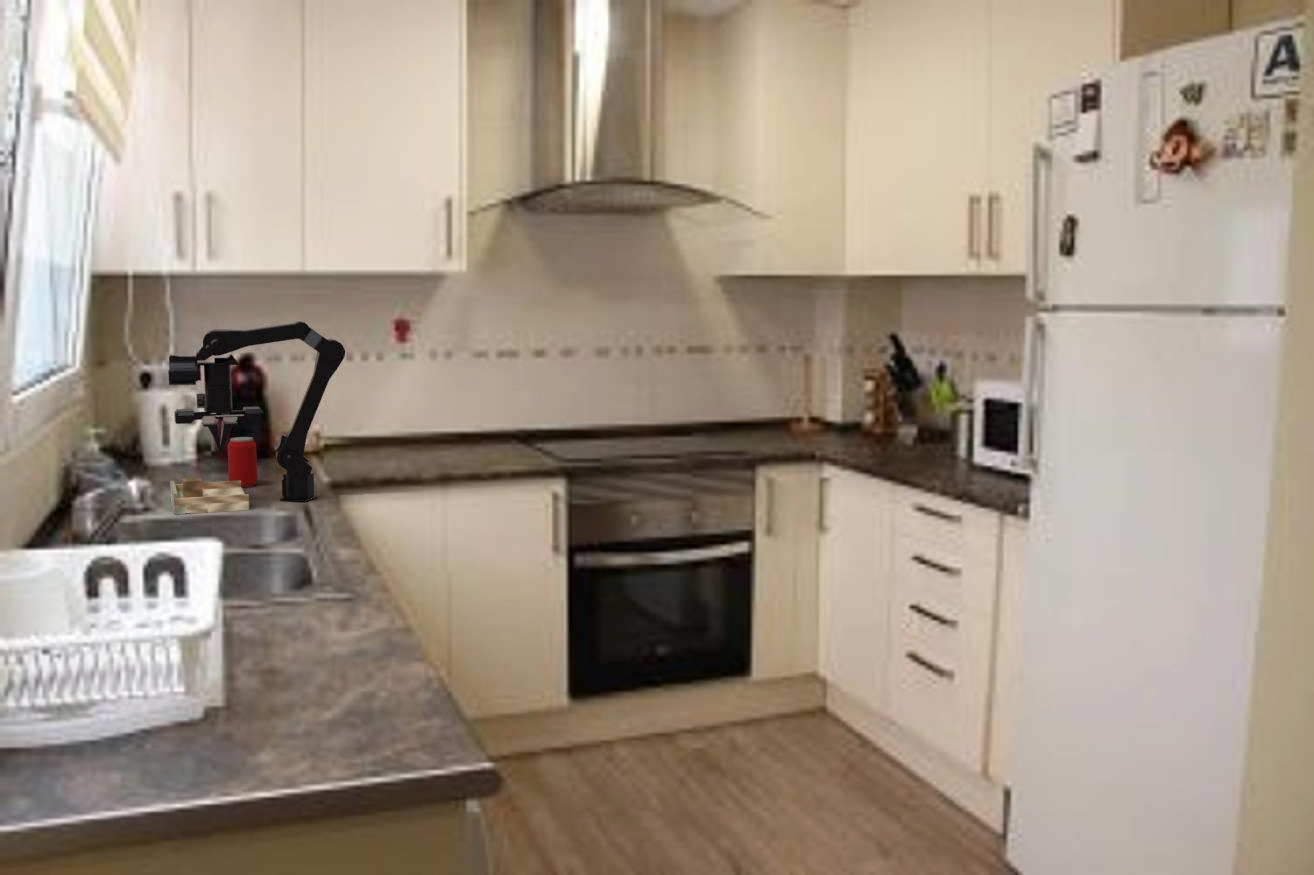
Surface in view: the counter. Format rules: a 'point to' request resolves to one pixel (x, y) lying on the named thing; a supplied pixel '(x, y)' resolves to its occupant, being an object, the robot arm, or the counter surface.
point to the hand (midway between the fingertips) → (220, 452)
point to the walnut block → (192, 487)
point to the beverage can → (242, 461)
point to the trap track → (210, 498)
